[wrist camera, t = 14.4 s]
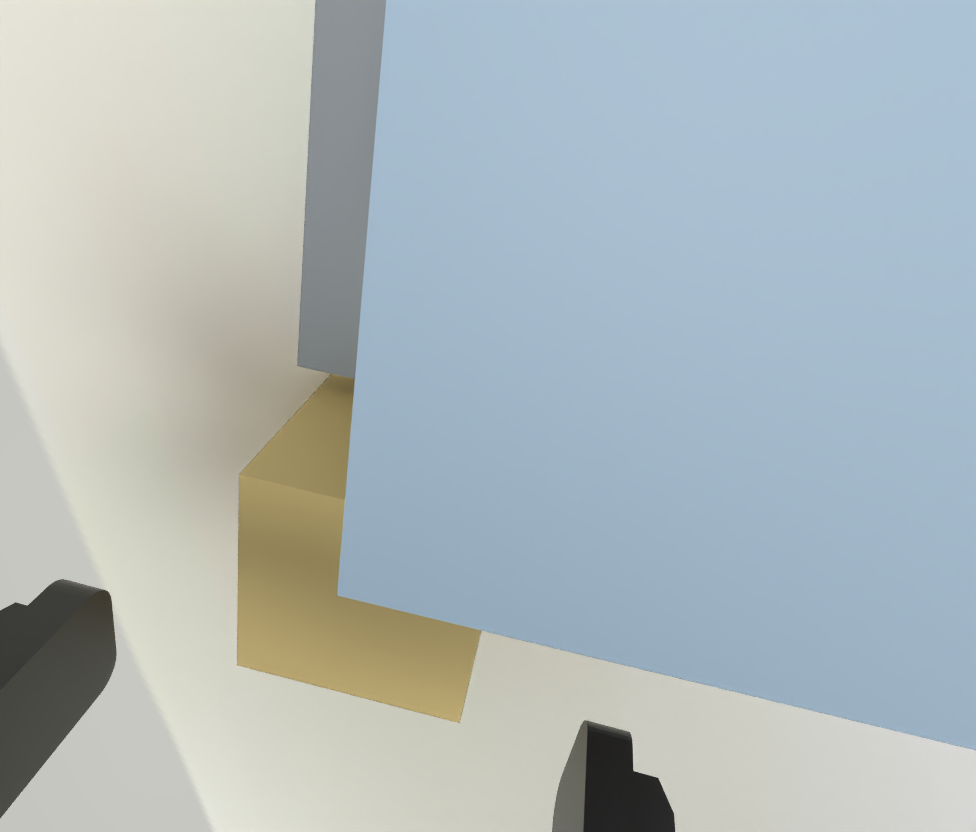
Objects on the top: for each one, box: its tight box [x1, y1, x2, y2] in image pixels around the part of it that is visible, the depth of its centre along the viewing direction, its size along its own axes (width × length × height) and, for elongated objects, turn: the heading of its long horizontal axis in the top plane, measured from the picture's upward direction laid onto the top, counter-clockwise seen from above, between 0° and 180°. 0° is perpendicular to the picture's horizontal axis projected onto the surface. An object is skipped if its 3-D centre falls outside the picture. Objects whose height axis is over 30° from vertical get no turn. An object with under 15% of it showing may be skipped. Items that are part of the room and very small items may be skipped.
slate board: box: [297, 0, 386, 379], centre depth 13 cm, size 12×14×1 cm
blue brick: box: [337, 0, 976, 750], centre depth 6 cm, size 6×6×5 cm
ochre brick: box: [237, 374, 481, 723], centre depth 16 cm, size 5×5×5 cm
